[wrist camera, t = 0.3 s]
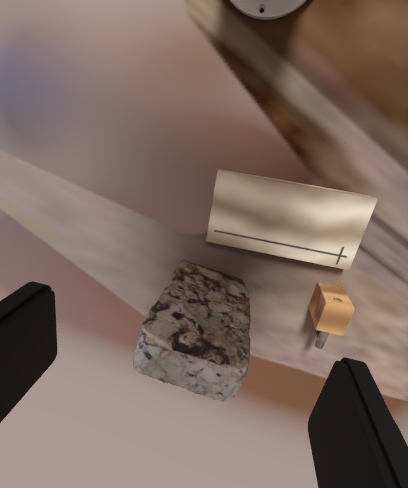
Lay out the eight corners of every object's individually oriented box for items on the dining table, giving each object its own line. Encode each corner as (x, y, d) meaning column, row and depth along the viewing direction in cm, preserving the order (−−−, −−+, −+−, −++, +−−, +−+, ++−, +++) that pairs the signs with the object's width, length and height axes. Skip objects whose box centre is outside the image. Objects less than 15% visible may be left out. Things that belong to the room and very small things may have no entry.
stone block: (172, 288, 51) (127, 377, 33) (178, 254, 49) (133, 331, 30) (243, 308, 51) (237, 410, 32) (254, 274, 48) (254, 366, 29)
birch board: (219, 168, 42) (217, 170, 40) (371, 195, 40) (377, 199, 38) (207, 236, 46) (205, 241, 45) (345, 264, 44) (349, 270, 43)
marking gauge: (317, 281, 46) (326, 302, 41) (342, 287, 46) (354, 308, 41) (301, 325, 50) (307, 349, 44) (325, 330, 50) (333, 355, 44)
